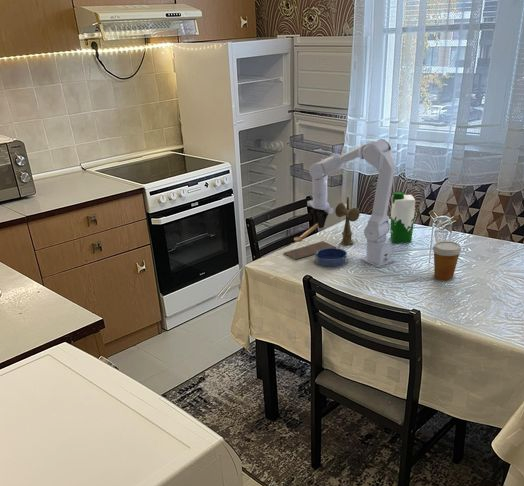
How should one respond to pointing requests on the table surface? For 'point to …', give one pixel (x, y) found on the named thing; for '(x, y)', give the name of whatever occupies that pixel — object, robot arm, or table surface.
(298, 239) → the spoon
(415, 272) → the table surface
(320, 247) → the board
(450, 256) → the disposable coffee cup
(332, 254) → the bowl
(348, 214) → the kendama
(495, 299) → the table surface
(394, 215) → the milk carton
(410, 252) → the table surface
